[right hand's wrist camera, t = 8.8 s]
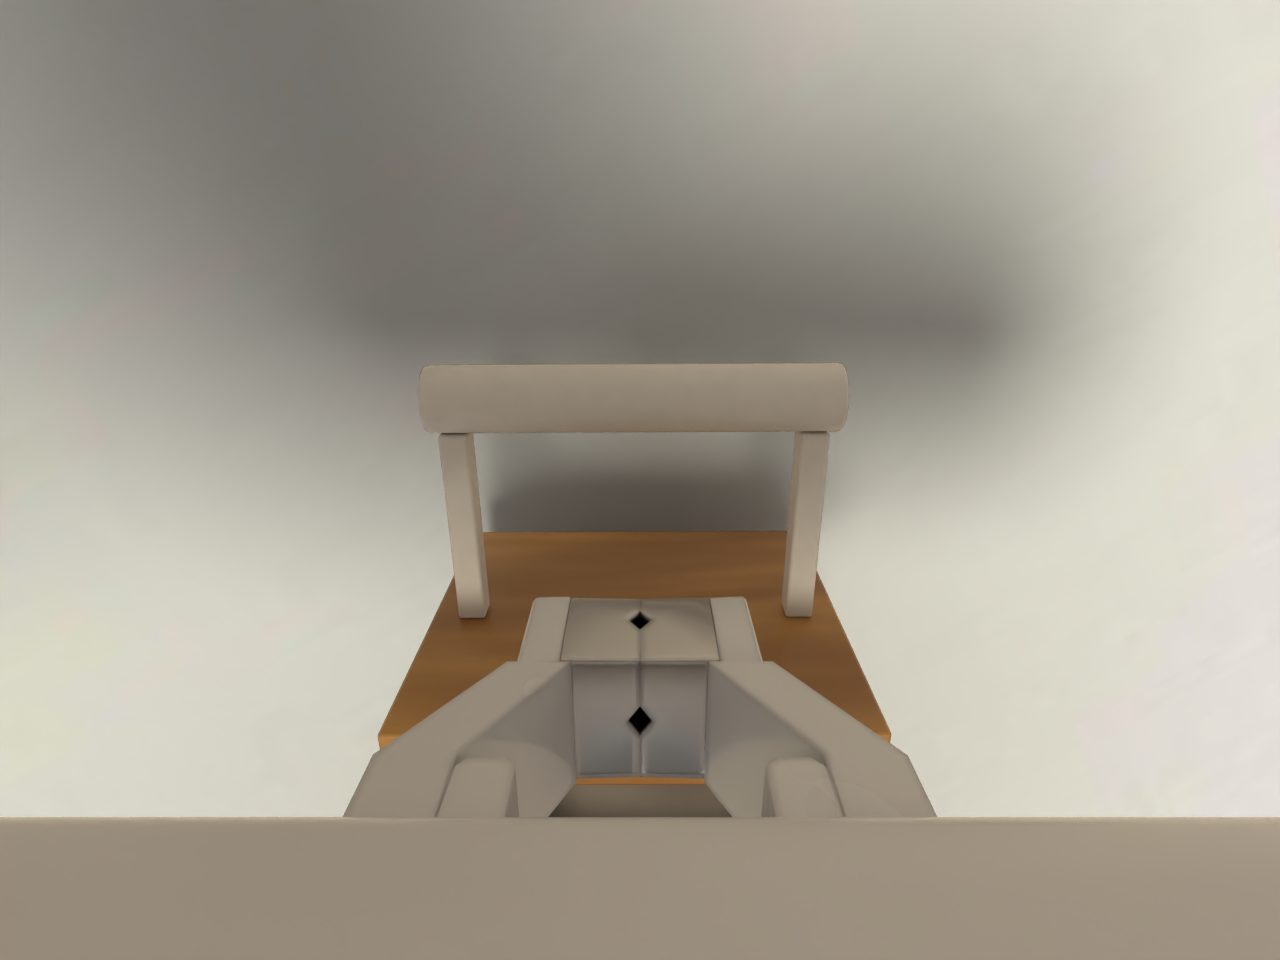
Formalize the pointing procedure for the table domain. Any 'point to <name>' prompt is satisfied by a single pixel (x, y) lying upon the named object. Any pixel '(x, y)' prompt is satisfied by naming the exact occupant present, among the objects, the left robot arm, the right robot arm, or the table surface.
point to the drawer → (632, 539)
